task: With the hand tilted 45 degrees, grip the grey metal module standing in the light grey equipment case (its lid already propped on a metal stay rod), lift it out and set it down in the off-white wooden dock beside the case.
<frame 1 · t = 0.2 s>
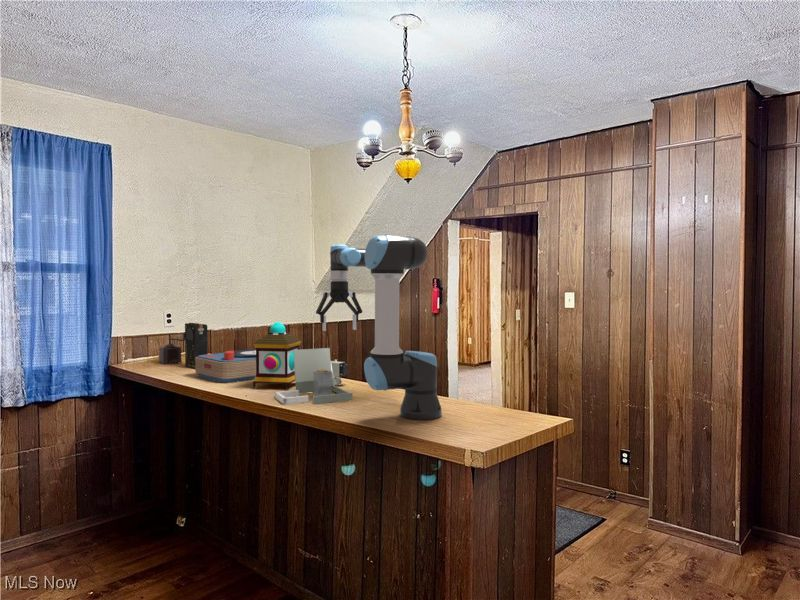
hand: (339, 330, 240), 28 cm above the table, tool pointing down, fingers open, 13 cm apart
module: (322, 397, 236), on the table
dock: (292, 399, 230), on the table
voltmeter: (196, 367, 318), on the table
decorative lantern: (278, 386, 261), on the table
dark handled box: (174, 362, 337), on the table
pneumatic valve: (336, 385, 263), on the table
case: (323, 396, 236), on the table
record player: (245, 375, 293), on the table
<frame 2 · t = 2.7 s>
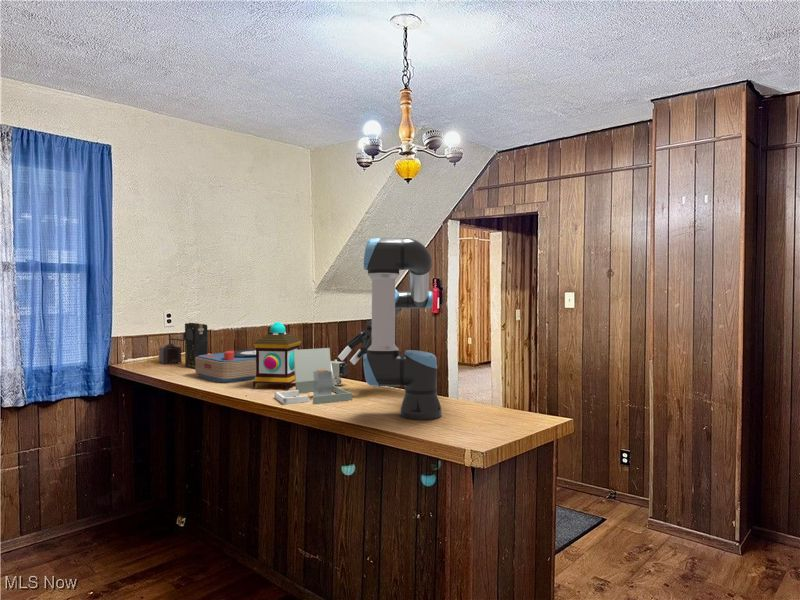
hand: (345, 360, 240), 15 cm above the table, tool tilted 45°, fingers open, 13 cm apart
nothing on the table moved.
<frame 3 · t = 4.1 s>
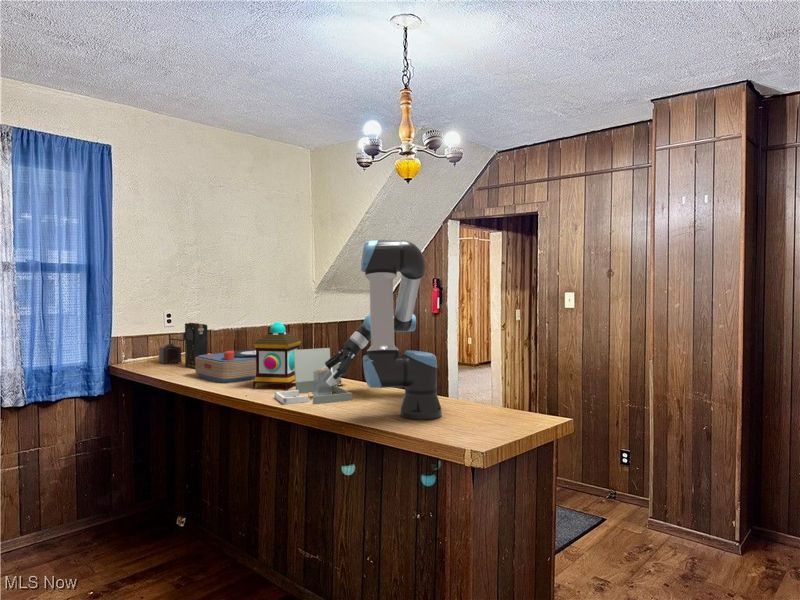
hand: (322, 381, 237), 6 cm above the table, tool tilted 45°, fingers open, 13 cm apart
nothing on the table moved.
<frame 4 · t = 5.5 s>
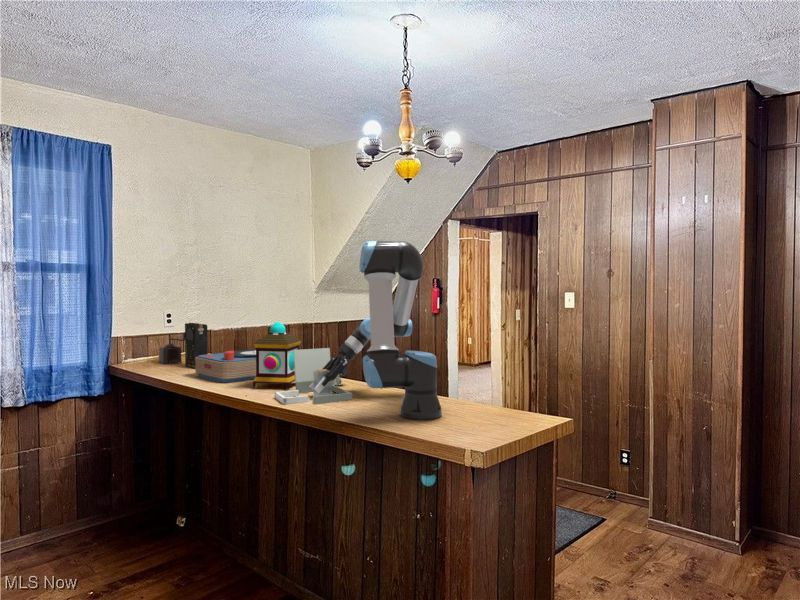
hand: (314, 389, 234), 3 cm above the table, tool tilted 45°, fingers closed on module, 5 cm apart
module: (322, 396, 236), on the table, touching gripper
everything else where it was.
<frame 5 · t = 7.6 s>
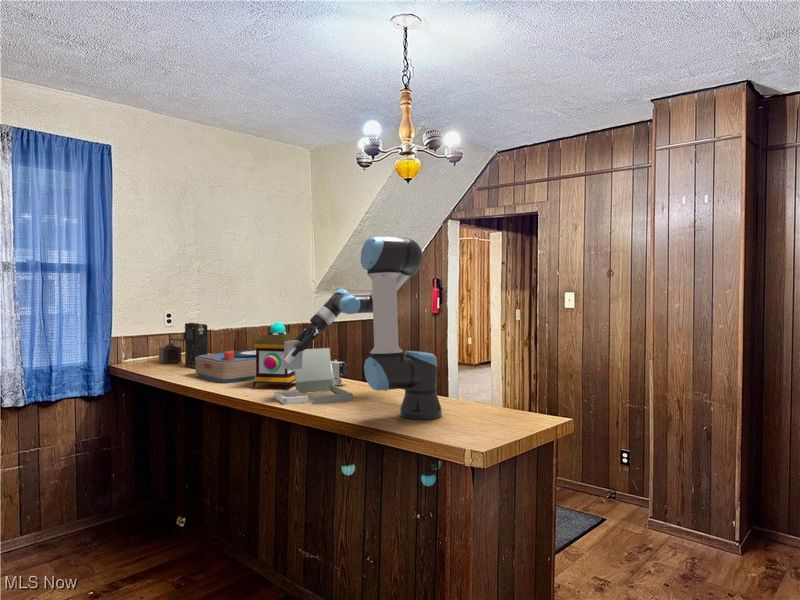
hand: (284, 360, 228), 16 cm above the table, tool tilted 45°, fingers closed on module, 5 cm apart
module: (293, 368, 230), point 13 cm above the table, touching gripper
everything else where it was.
when the fingers open (5 cm above the table, at t = 9.7 s): module drops 1 cm, on the table.
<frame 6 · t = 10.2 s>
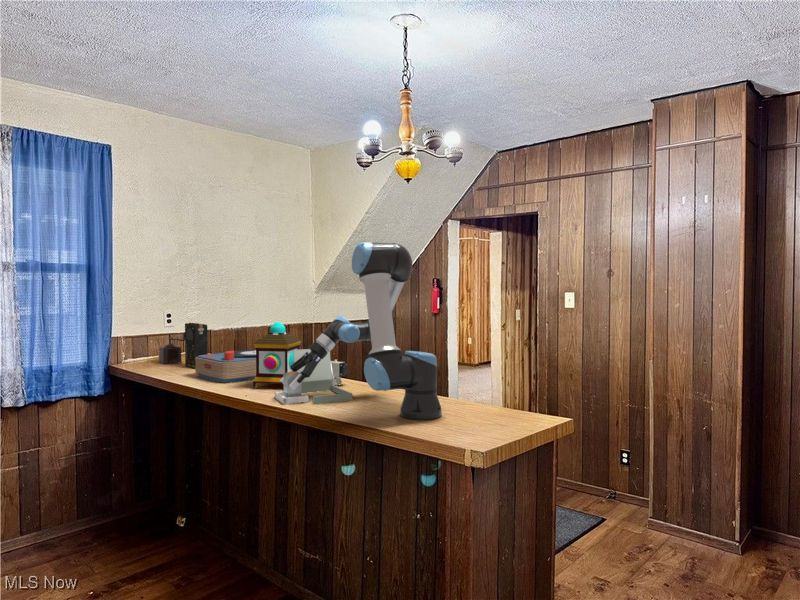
hand: (286, 385, 229), 6 cm above the table, tool tilted 45°, fingers open, 13 cm apart
module: (292, 400, 230), on the table
everything else where it was.
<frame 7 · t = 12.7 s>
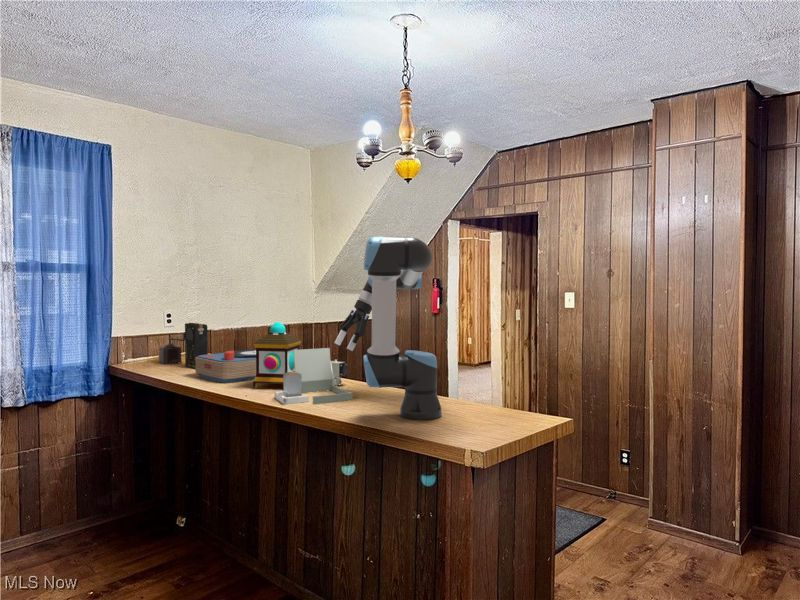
hand: (343, 347, 239), 21 cm above the table, tool tilted 30°, fingers open, 13 cm apart
nothing on the table moved.
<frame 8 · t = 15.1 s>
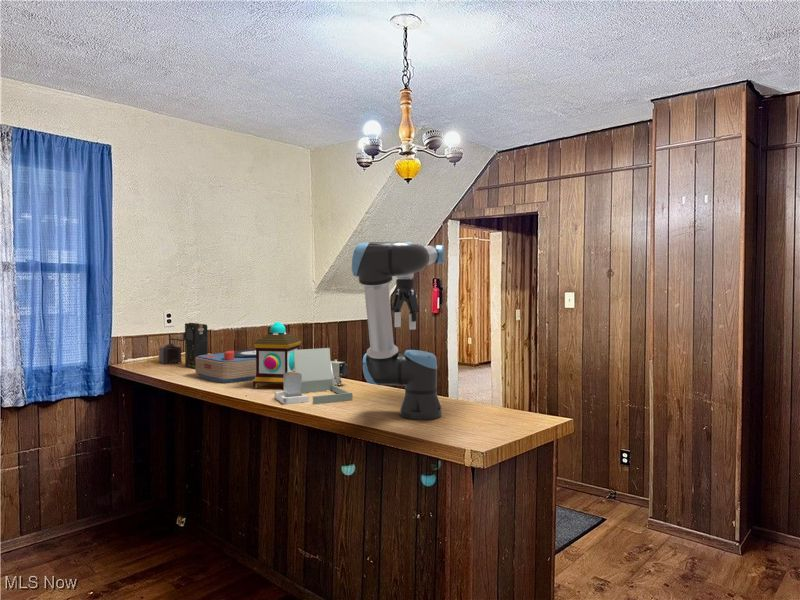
hand: (404, 328, 240), 29 cm above the table, tool pointing down, fingers open, 13 cm apart
nothing on the table moved.
at the end: module inside the target area (0.0 cm from its centre), on the table; module tilted 0°; the gripper is holding nothing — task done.
